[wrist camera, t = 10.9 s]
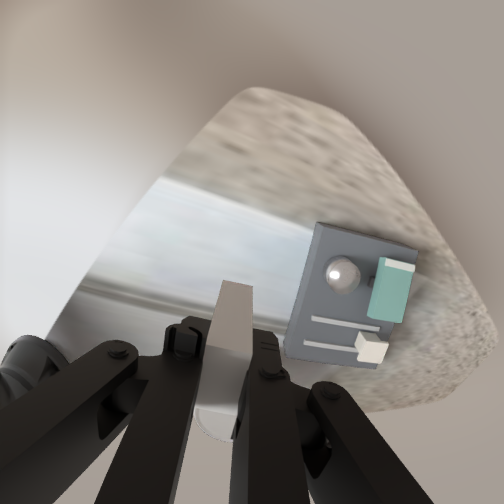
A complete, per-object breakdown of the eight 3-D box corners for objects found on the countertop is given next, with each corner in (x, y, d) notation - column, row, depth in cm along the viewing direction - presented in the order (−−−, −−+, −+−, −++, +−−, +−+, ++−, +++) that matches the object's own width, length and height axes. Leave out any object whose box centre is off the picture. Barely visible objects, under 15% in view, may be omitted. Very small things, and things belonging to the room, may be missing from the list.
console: (283, 342, 43) (286, 360, 39) (316, 221, 40) (324, 227, 35) (367, 355, 44) (377, 372, 39) (405, 244, 40) (421, 252, 36)
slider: (350, 346, 39) (358, 361, 35) (357, 327, 38) (366, 340, 35) (371, 349, 39) (380, 363, 35) (379, 331, 38) (389, 344, 35)
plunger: (319, 282, 37) (324, 290, 34) (327, 252, 36) (334, 259, 33) (347, 288, 37) (354, 296, 34) (356, 259, 36) (364, 265, 33)
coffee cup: (282, 370, 44) (290, 426, 33) (229, 397, 46) (223, 453, 34) (246, 322, 43) (244, 372, 31) (191, 353, 44) (174, 406, 32)
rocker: (366, 315, 36) (373, 319, 34) (379, 257, 36) (387, 257, 34) (394, 320, 36) (402, 323, 34) (407, 263, 36) (415, 264, 34)
